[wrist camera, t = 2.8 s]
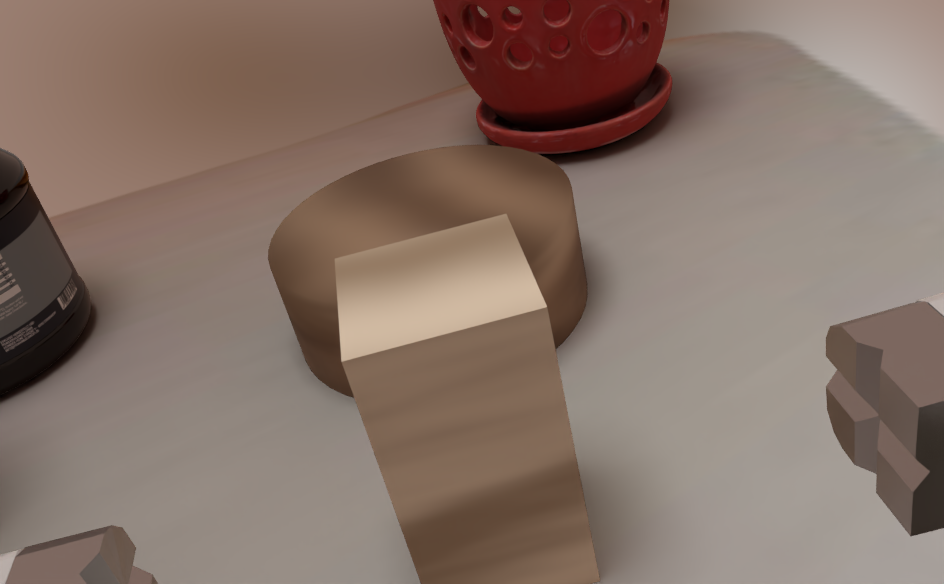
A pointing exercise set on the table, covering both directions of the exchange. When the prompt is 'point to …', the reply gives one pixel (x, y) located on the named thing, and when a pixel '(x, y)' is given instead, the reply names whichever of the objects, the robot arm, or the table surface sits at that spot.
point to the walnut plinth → (425, 233)
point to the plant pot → (560, 68)
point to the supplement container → (33, 283)
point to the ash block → (466, 406)
